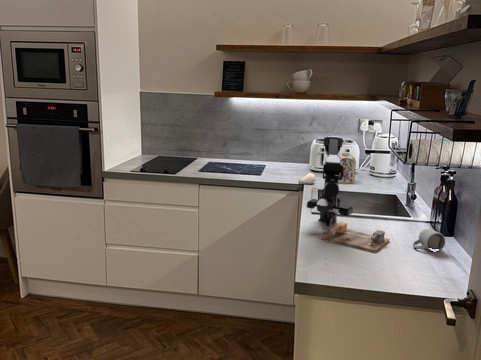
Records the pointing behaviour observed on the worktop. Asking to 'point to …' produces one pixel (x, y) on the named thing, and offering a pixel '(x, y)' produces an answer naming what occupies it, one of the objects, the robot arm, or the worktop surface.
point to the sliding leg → (340, 227)
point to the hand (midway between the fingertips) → (328, 226)
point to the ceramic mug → (430, 240)
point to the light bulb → (308, 179)
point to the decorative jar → (347, 168)
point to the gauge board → (357, 239)
